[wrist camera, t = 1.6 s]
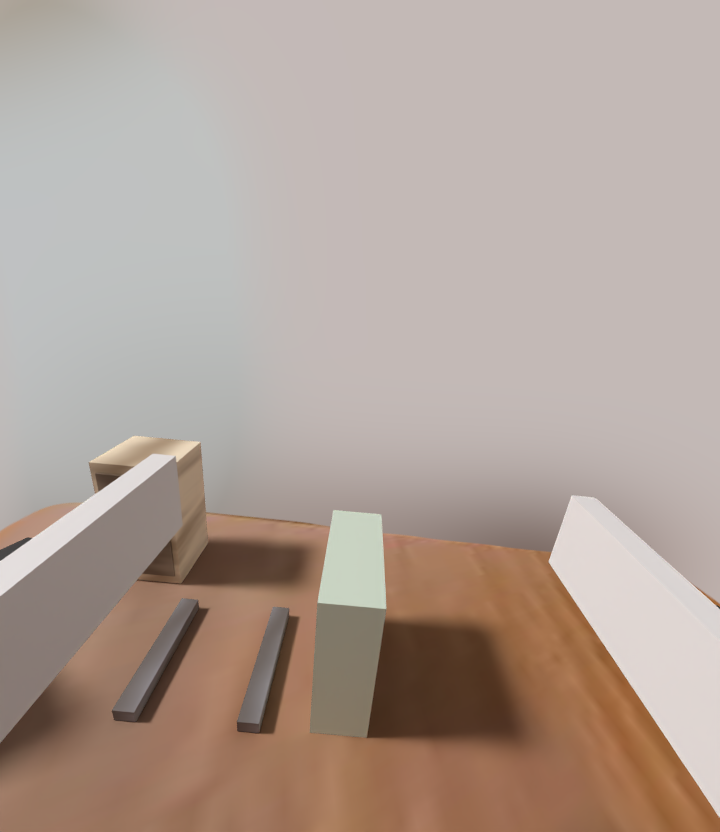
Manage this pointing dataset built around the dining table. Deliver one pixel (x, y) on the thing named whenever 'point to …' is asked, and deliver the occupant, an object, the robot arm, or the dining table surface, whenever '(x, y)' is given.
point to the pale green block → (348, 625)
